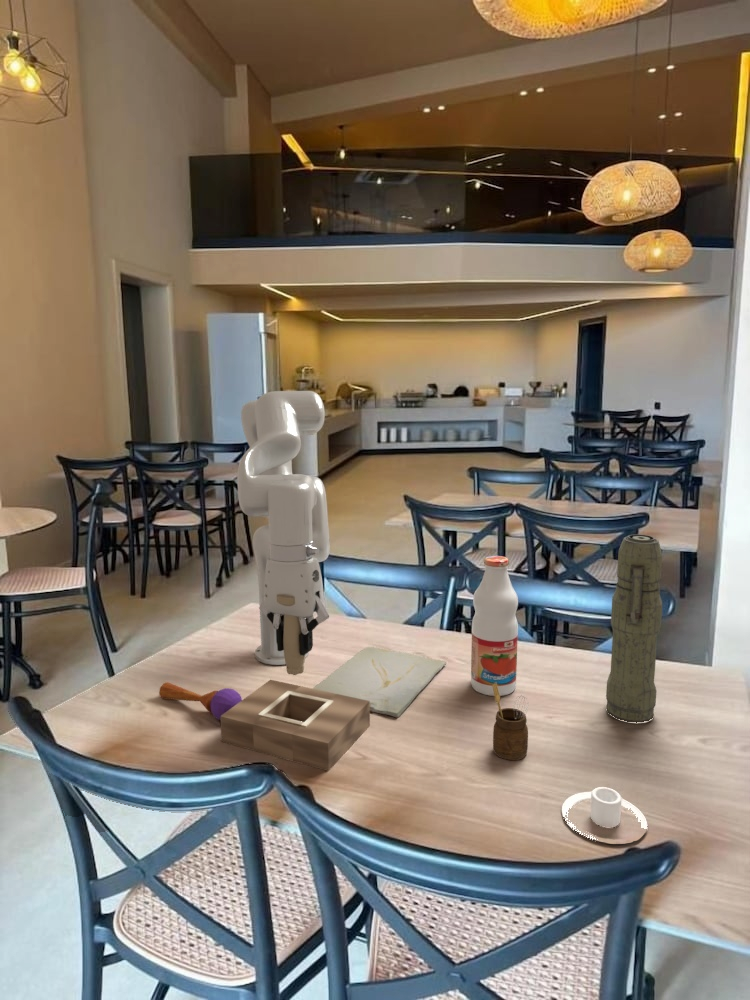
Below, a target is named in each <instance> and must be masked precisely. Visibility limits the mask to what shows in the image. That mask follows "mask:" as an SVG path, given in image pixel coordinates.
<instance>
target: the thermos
mask: <svg viewBox="0 0 750 1000" xmlns="http://www.w3.org/2000/svg"><path fill="white" fill-rule="evenodd" d="M617 552H618V555H617V556H618V558H617V569H616V570H617V571H616V575H617V576H616V577H617V582H616V588H615V590H614V593H613V595H612V598H611V599H612V600H611V616H610V617H611V618H610V626H611V628H612V642H611V644H612V645H611V656H610V657H611V658H610V659H611V660H610V673H609V674H608V677H607V680H606V689H605V690H606V693H605V694H606V695H605V697H606V698H605V699H606V707H605V708H606V709H607V711H608V713H609V714H611V715H612V716H614V717H615V718H617V719H620V720H624V721H627V722H636V723H637V722H644V721H649V720H650V719H652V718H653V716H654V717H655V713H654V712H655V707H656V706H657V705H656V701H657V686H656V684H655V673H656V661H657V647H658V646H657V645H658V635H659V633H660V631H661V629H662V627H661V626H662V619H663V618H662V616H663V601H662V597H661V594H660V593H661V588H660V587H661V586H660V582H661V580H662V565H663V551H662V547H661V545H660V541H659V539H657V538H655V536H652V535H649V534H648V535H647V534H629V535H627V536H625V537H623V539H622V541H621V544H620V546H619V548H618V551H617ZM606 709H605V710H606ZM607 711H606V712H607ZM608 713H607V714H608ZM609 714H608V715H609ZM653 719H654V718H653Z"/></svg>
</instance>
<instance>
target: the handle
mask: <svg viewBox="0 0 750 1000" xmlns="http://www.w3.org/2000/svg"><path fill="white" fill-rule="evenodd" d="M277 602H278V603H279V604H281V605H284V606H292V605H294V604H295V597H288V596H281V595H277ZM301 633H302V630H301V625H300V620H299V617H295V616H290V615H284V634H283V646H284V658H285V663H286V664H285V665H286V673H287V674H288V675H293V676H297V675H300V674H303V673H304V670H305V665H304V664H305V660H306V657H305V655H304V656H303V655H300V650H299V634H301Z"/></svg>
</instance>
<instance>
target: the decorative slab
mask: <svg viewBox="0 0 750 1000" xmlns="http://www.w3.org/2000/svg"><path fill="white" fill-rule="evenodd" d="M446 665H447V661H445V660H441V659H435V658H430V657H428V656H427V657H426V656H423V655H419V654H418V655H417V654H414V653H413V654H412V653H408V652H401V651H396V650H391V649H386V648H380V647H378V646H367V647H365V648H363V649H362V650H360V651H359V652H357V653H356V654H355V655H353V657H351V658H349V659H348V660H347V661H346V662H344V663H343V664H342V665H340V667H338V668H337V669H336V670H334V671H333V672H332V673H331V674H330V675H328V676H327V677H325V679H323V680H322V681H319V683H318V684H316V685H315V686H314V687H312V689H316V690H321V691H326V692H330V693H335V694H340V695H344V696H349V697H354V698H358V699H363V700H367V701H370V712H372V713H375V714H376V713H377V714H381V715H388V716H391V717H394V718H399V717H400V716H401V715H402V713H404V712H405V710H407V708H408V707H409V705H410V704H412V703H413V701H414V699H415V698H416V697H417V696H418V695H419V694H420V693H421V691H422V690H424V689H425V687H426V686H427V685H428V684H429V683H430V681H432V680H433V679H434V677H435V676H436V674H437V673H438V672H440V671H441V670H443V667H444V666H446Z"/></svg>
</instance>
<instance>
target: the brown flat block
mask: <svg viewBox="0 0 750 1000" xmlns="http://www.w3.org/2000/svg"><path fill="white" fill-rule="evenodd" d="M312 688H313V687H312ZM312 688H311V687H306V686H303V685H302V686H301V685H297V684H293V683H288V682H283V681H279V680H276V679H275V680H274V679H270V680H268V681H267V682H265V683H264V684H262V685H261V686H260V687H258V688H257V689H255V690H254V691H253V692H252V693H250V694H249V695H247V696H246V697H244V698H242V701H240V702H239V703H238V704H236V705H235V706H234V707H232V708H231V709H230V710H228V711H227V712H225V713H224V714H223V715H221V716H220V719H221V720H220V732H221V733H220V734H221V736H220V737H221V743H225V744H228V745H232V746H236V747H239V748H243V749H247V750H251V751H254V752H258V753H261V754H265V755H269V756H272V757H276V758H280V759H284V760H288V761H291V762H295V763H299V764H302V765H306V766H310V767H313V768H316V767H317V769H320V768H321V770H325V771H328V772H329V771H330V770H331V769H332V768H333V767H334V766H335V765H336V764H337V762H338V761H340V759H341V758H342V757H343V756H344V755H345V754H346V752H348V750H349V749H350V748H351V747H352V746H353V745H354V744H355V743H356V742H357V740H358V739H359V738H361V736H362V735H363V734H364V733H365V732H366V731H367V730H368V728H369V727H370V726H371V724H370V723H371V720H370V719H371V717H370V716H371V715H370V714H371V711H370V701H367V700H363V699H358V698H354V697H349V696H344V695H340V694H335V693H330V692H326V691H321V690H316V689H312ZM301 721H302V722H301Z"/></svg>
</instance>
